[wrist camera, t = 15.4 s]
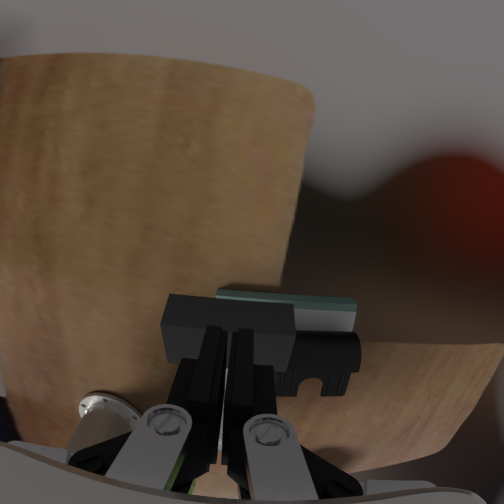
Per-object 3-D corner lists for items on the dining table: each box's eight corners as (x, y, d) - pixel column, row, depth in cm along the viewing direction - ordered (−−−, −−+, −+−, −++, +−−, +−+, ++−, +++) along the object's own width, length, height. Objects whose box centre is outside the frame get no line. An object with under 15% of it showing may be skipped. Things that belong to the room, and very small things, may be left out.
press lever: (260, 427, 26) (260, 457, 23) (193, 421, 25) (189, 451, 23) (292, 296, 16) (296, 344, 13) (171, 286, 16) (157, 333, 13)
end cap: (349, 319, 38) (366, 349, 31) (338, 366, 40) (351, 399, 33) (268, 316, 38) (271, 347, 31) (263, 364, 40) (265, 399, 33)
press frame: (336, 367, 42) (366, 451, 27) (214, 362, 42) (199, 451, 27) (353, 297, 39) (401, 371, 24) (217, 288, 39) (197, 367, 24)
